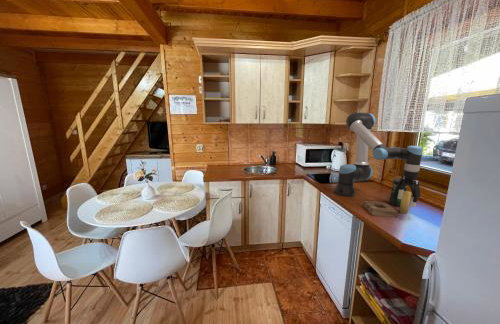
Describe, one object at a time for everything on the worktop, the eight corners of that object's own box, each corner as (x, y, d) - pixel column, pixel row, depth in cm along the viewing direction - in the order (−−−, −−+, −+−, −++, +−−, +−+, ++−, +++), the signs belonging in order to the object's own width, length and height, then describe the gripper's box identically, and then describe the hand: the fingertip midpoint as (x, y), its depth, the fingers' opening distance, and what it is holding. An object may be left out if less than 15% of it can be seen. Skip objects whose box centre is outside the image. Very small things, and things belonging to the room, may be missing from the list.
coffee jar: (405, 207, 144) (410, 181, 140) (393, 205, 146) (397, 180, 142) (399, 202, 153) (403, 178, 150) (387, 200, 155) (391, 177, 151)
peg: (397, 210, 139) (401, 190, 136) (404, 211, 138) (408, 191, 135) (401, 213, 134) (405, 193, 132) (409, 214, 134) (413, 193, 131)
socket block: (363, 206, 144) (364, 201, 143) (384, 208, 142) (385, 202, 141) (372, 215, 130) (373, 209, 130) (396, 217, 129) (397, 211, 128)
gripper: (394, 166, 143) (389, 195, 147) (418, 175, 119) (411, 209, 123) (405, 166, 142) (401, 196, 146) (432, 175, 118) (425, 210, 122)
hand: (406, 202), depth 134 cm, fingers open, 13 cm apart
